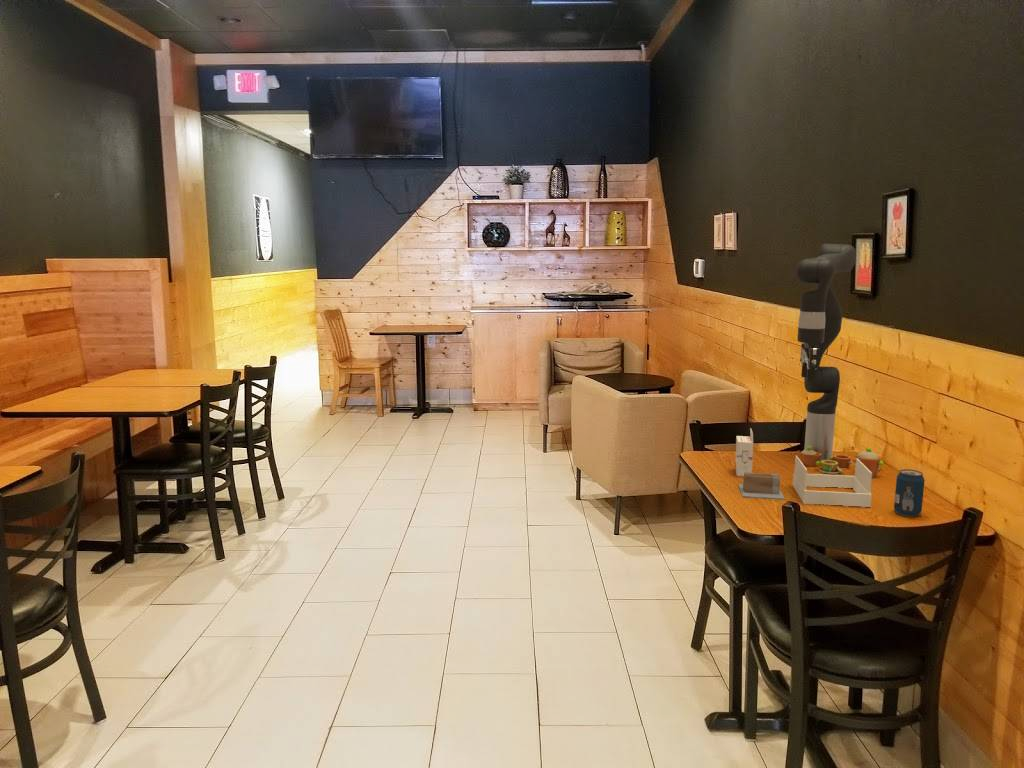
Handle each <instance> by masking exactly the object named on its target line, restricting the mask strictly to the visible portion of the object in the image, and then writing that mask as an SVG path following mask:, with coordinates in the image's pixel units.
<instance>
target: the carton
mask: <svg viewBox="0 0 1024 768" xmlns="http://www.w3.org/2000/svg"><path fill="white" fill-rule="evenodd" d="M855 459H856V463H855V467H854V475H843V474H842V475H841V474H825V473H823V474H821V473H820V474H819V473H808V469H807V468H806V465H805V464H804V462H802V460H801V459H800V457H798V455H796V454H795V460H794V461H795V462H794V472H793V476H792V486H793V488H794V489H795V492H796V493H797V495H798V496H799V498H800V500H801V501H802V503H803V504H804V505H814V504H817V505H816V506H819V505H818V504H821V505H820V506H830V505H843V506H842V507H848V506H861V507H860V508H865V507H870V508H869V509H871V508H872V495H873V494H872V493H871V491H872V480H873V478H872V472H871V471H870V470H869V469H868V468H867V467H866V466H865V465H864V464H863V463H862V462H861V461H860V460H859V459H858V458H856V457H855ZM808 487H811V488H825V487H838V488H837V489H844V488H853V489H852V490H853V491H854V492H844V491H827V490H826V491H824V490H809V489H807V488H808ZM842 487H843V488H842ZM822 504H824V505H822ZM826 504H828V505H826Z"/></svg>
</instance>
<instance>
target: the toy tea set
mask: <svg viewBox="0 0 1024 768" xmlns="http://www.w3.org/2000/svg"><path fill="white" fill-rule="evenodd" d="M811 449H812V447H811V446H808V447H807V449H806V450H804V449H803V450H802V451H801V452H800V453H801V454H802V455H803V465H804V466H807V465H808V467H818V471H819V472H820V473H823V474H825V473H827V474H826V475H839V474H840V473H843V472H844V471H843V470H844V469H840V468H847V469H849V468H850V465H852V464H853V462H854V463H855V464H856V458H858V459H859V460H860V461H861V462H862V463H863V464H864V465H865V466H866V467H867V468H868V469H869V470H870V471H871V472H872V479H873V478H877V476H878V473H879V471H880V470H881V468H880V467H882V466H884V460H882V459H881V458H882V457H880V456H879V455H878V454H877V453H876V452H875V451H872V449H871V447H867V448H866V450H863V451H861V452H859V453H858V454H856V455H855V458H854V459H853V461H852V457H851V456H849V455H846V454H834V455H833V454H832V457H830V460H822V461H821V462H820V458H821V453H819V452H815V451H813V450H811ZM818 465H819V466H820V467H819V466H818ZM838 473H839V474H838Z"/></svg>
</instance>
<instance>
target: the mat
mask: <svg viewBox="0 0 1024 768" xmlns="http://www.w3.org/2000/svg"><path fill="white" fill-rule="evenodd" d="M737 486H738V489H739V491H740V495H741V496H742V498H751V499H752V498H753V499H768V500H785V499H786V498H785V496H784V494H783V492H782V490H781V489H780V491H779V494H766V493H748V492H745V491H744V489H743V483H738V485H737Z"/></svg>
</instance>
